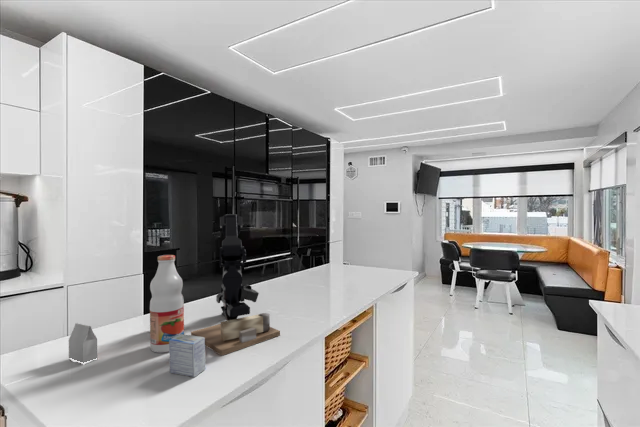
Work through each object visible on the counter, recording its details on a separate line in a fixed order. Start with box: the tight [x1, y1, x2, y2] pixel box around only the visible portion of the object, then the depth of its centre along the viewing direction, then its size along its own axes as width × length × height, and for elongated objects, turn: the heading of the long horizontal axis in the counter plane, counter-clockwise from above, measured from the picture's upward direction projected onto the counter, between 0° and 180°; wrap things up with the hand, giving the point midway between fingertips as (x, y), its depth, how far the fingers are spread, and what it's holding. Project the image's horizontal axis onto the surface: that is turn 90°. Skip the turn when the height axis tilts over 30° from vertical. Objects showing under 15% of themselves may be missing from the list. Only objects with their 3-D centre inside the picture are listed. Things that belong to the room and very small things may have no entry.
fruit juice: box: [149, 254, 185, 354], centre depth 99 cm, size 9×9×28 cm
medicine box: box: [168, 333, 206, 378], centre depth 83 cm, size 8×4×9 cm, turn 71°
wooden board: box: [190, 323, 281, 357], centre depth 107 cm, size 21×21×4 cm
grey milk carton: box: [68, 322, 98, 363], centre depth 90 cm, size 4×7×10 cm, turn 65°
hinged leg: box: [220, 312, 271, 341], centre depth 104 cm, size 16×4×5 cm, turn 123°
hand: (232, 329), depth 105 cm, fingers closed
